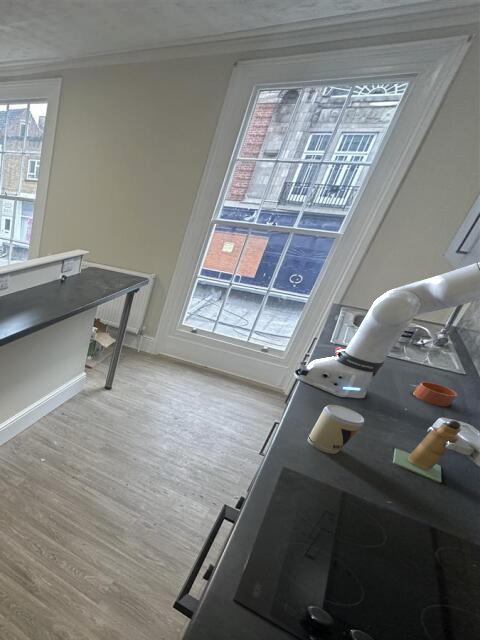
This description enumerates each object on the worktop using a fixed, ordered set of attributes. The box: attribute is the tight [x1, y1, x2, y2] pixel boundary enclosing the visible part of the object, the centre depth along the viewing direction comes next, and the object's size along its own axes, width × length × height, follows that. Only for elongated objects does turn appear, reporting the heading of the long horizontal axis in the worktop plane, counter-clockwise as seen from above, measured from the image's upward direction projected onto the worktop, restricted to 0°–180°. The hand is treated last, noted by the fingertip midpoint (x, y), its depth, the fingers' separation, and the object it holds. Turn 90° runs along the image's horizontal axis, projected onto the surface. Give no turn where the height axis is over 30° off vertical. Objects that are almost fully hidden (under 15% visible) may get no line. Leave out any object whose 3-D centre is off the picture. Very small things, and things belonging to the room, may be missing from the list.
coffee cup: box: [307, 404, 365, 455], centre depth 118 cm, size 9×9×12 cm
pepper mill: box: [408, 420, 461, 469], centre depth 112 cm, size 5×5×15 cm
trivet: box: [392, 447, 443, 484], centre depth 116 cm, size 10×10×1 cm
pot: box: [412, 381, 459, 407], centre depth 151 cm, size 10×10×5 cm
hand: (437, 437), depth 111 cm, fingers closed on pepper mill, 5 cm apart
